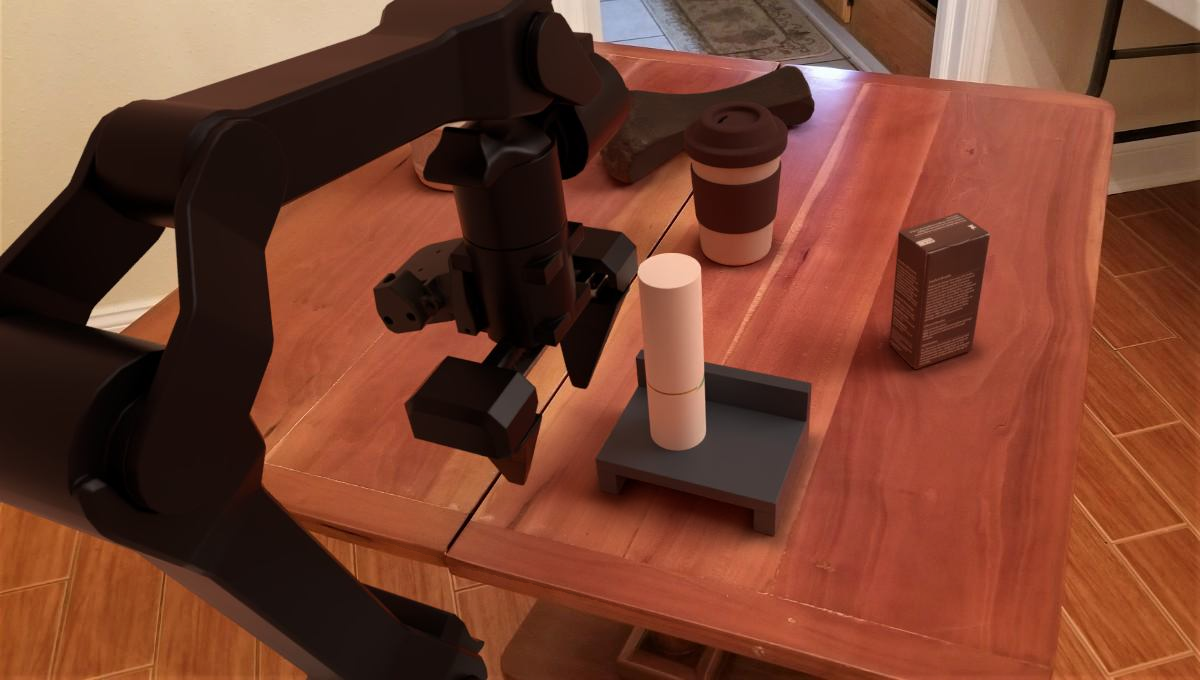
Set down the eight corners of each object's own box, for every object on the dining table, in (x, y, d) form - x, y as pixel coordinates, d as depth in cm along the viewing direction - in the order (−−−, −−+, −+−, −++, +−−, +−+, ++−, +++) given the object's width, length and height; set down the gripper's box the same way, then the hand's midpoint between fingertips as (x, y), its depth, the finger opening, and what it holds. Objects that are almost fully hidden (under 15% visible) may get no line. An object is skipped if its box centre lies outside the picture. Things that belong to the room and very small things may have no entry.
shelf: (774, 536, 68) (776, 474, 64) (599, 490, 73) (590, 430, 69) (808, 443, 75) (812, 382, 71) (645, 407, 80) (640, 348, 76)
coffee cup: (802, 257, 96) (808, 121, 87) (716, 285, 93) (713, 148, 84) (753, 214, 103) (754, 85, 94) (672, 239, 101) (665, 109, 92)
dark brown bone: (607, 203, 112) (799, 163, 122) (629, 146, 103) (834, 108, 113) (574, 133, 116) (763, 100, 126) (592, 73, 107) (794, 42, 117)
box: (941, 324, 85) (959, 209, 78) (972, 352, 82) (995, 235, 74) (883, 343, 84) (896, 227, 77) (913, 372, 81) (930, 254, 73)
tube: (678, 458, 70) (668, 296, 61) (639, 431, 73) (624, 272, 64) (717, 430, 72) (714, 268, 63) (678, 404, 75) (669, 246, 66)
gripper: (471, 131, 60) (508, 325, 69) (286, 295, 47) (363, 505, 56) (632, 149, 56) (648, 353, 65) (478, 335, 43) (526, 554, 52)
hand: (550, 432), depth 60 cm, fingers open, 9 cm apart
